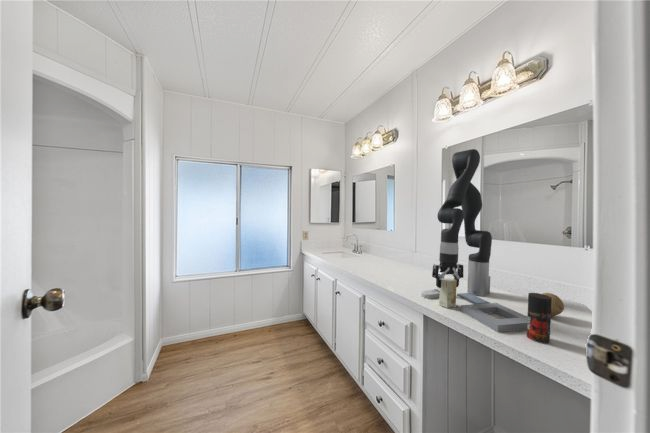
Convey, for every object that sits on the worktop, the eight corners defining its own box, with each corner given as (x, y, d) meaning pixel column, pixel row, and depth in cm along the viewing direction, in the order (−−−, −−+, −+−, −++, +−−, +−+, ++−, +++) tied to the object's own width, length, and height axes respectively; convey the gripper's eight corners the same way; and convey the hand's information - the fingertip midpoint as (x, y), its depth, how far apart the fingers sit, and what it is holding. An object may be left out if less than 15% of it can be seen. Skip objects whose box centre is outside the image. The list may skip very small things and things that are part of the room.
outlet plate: (496, 308, 108) (496, 302, 108) (538, 328, 90) (538, 321, 90) (461, 310, 105) (461, 305, 104) (497, 332, 87) (497, 325, 87)
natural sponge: (566, 324, 93) (568, 299, 93) (536, 318, 98) (537, 294, 98) (559, 315, 101) (560, 292, 101) (532, 310, 106) (533, 288, 105)
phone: (468, 294, 124) (469, 292, 124) (490, 305, 111) (490, 302, 111) (456, 295, 123) (457, 293, 123) (477, 305, 110) (477, 303, 110)
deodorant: (522, 334, 85) (523, 292, 85) (537, 333, 86) (539, 292, 85) (538, 343, 80) (540, 299, 79) (554, 343, 80) (556, 298, 80)
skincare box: (447, 308, 107) (448, 281, 106) (438, 305, 111) (439, 278, 110) (456, 306, 110) (457, 279, 109) (447, 302, 114) (448, 277, 113)
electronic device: (419, 277, 122) (442, 274, 127) (419, 296, 123) (442, 292, 127) (426, 280, 117) (450, 277, 122) (426, 300, 118) (450, 296, 122)
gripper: (456, 250, 114) (455, 284, 115) (429, 250, 112) (428, 285, 112) (468, 253, 107) (467, 289, 107) (440, 253, 104) (438, 290, 105)
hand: (447, 287), depth 110 cm, fingers open, 8 cm apart
